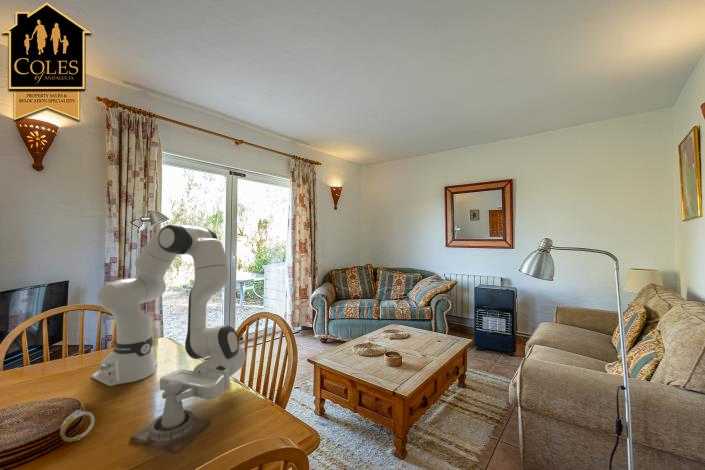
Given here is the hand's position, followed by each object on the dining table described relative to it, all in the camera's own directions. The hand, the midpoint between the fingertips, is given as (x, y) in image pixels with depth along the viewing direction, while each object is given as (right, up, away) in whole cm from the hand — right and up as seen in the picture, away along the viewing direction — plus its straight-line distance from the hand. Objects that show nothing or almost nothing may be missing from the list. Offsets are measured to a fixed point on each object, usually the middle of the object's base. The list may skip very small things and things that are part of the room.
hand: (170, 397), depth 83 cm
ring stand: (0, -11, +1) cm, 11 cm away
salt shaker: (0, -10, +1) cm, 10 cm away
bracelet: (-24, -11, -2) cm, 26 cm away
